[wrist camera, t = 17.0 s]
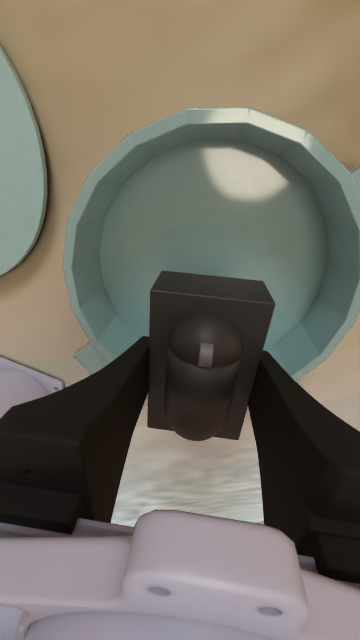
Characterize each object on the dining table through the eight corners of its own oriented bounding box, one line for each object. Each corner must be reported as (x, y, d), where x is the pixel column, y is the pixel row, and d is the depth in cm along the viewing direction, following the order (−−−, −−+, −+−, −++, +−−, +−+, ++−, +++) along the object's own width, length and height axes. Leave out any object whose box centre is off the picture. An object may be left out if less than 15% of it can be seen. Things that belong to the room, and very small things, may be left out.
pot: (410, 283, 19) (469, 312, 14) (160, 401, 27) (151, 441, 23) (305, 0, 13) (351, -89, 9) (27, 260, 21) (-18, 279, 17)
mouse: (234, 403, 16) (241, 471, 12) (156, 392, 16) (139, 456, 12) (263, 280, 12) (287, 323, 8) (161, 269, 12) (139, 306, 8)
